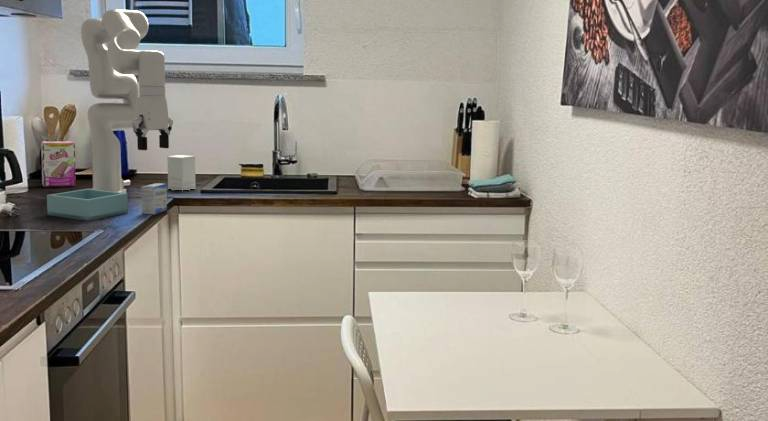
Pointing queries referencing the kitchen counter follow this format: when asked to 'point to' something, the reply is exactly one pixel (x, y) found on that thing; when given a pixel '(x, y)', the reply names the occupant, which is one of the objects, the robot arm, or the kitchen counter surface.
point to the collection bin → (87, 204)
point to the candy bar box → (58, 163)
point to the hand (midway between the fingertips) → (153, 149)
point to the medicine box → (154, 198)
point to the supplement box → (181, 172)
